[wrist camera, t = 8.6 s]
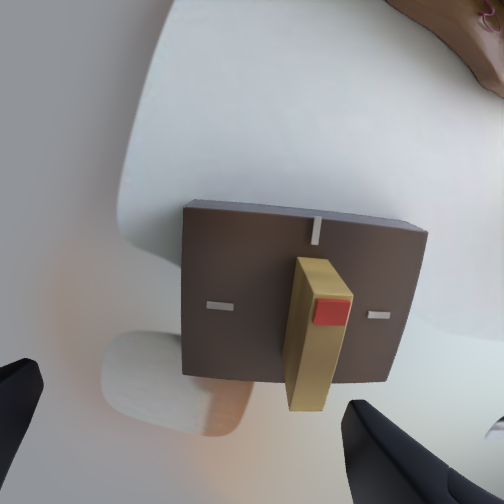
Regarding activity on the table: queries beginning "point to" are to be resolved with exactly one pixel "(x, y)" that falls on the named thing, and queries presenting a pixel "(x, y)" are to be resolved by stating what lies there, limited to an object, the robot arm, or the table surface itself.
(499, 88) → the plant
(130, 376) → the table surface
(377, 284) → the panel
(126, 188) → the table surface
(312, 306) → the golden tan block
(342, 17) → the table surface
